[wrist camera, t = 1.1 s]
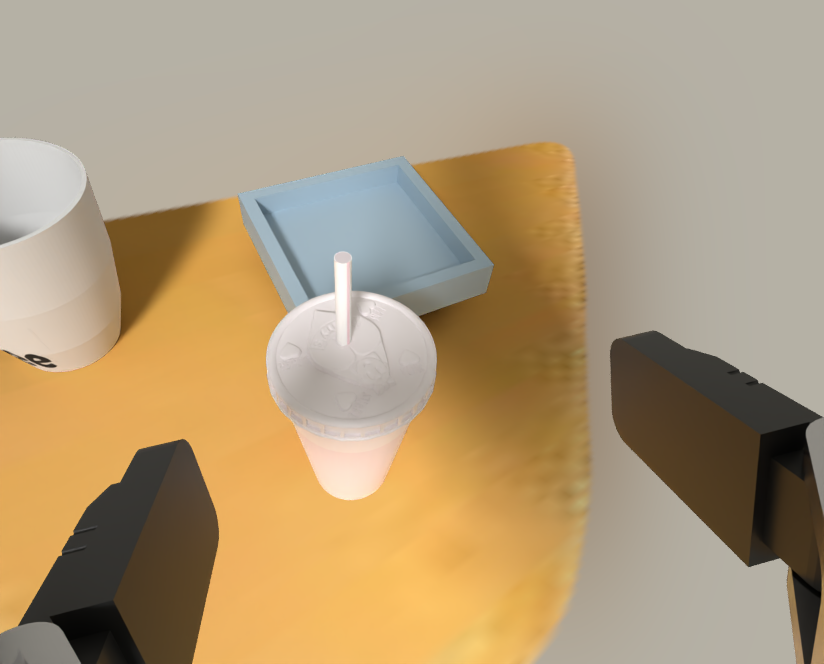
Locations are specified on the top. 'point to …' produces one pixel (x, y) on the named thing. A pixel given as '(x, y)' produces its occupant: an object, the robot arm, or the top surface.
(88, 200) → the cup
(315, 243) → the square pastel tray
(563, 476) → the top surface
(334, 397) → the smoothie
